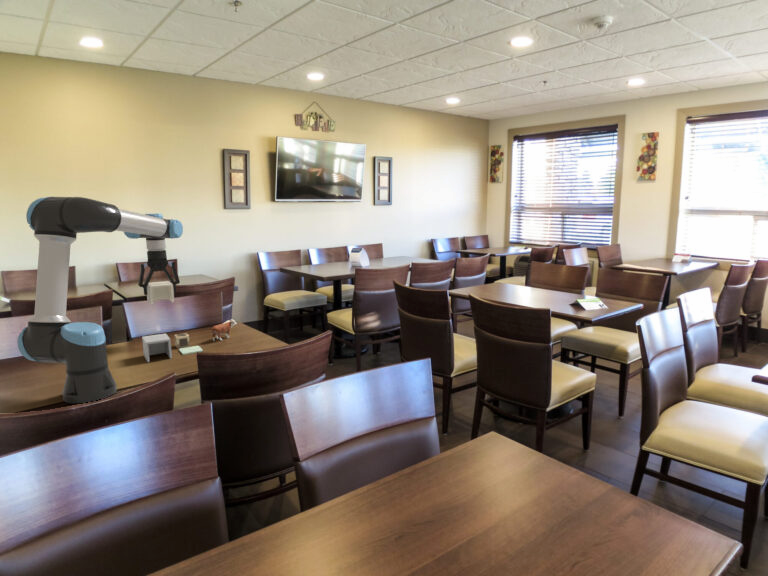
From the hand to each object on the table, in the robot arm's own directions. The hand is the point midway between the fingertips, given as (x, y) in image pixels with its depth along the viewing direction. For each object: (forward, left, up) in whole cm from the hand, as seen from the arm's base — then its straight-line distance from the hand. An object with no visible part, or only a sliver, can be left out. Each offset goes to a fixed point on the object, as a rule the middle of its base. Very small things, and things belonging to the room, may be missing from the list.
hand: (161, 300), depth 217 cm
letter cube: (-11, -5, -19) cm, 22 cm away
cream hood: (0, 0, 0) cm, 0 cm away
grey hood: (-21, +6, -19) cm, 29 cm away
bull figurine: (-9, -24, -19) cm, 32 cm away
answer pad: (-20, -7, -19) cm, 28 cm away
